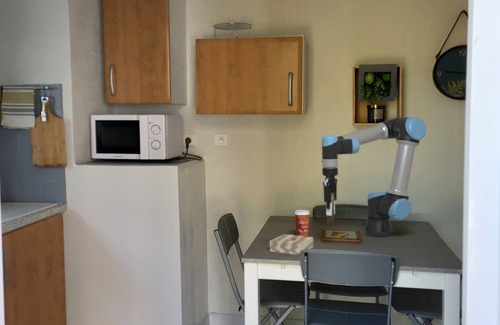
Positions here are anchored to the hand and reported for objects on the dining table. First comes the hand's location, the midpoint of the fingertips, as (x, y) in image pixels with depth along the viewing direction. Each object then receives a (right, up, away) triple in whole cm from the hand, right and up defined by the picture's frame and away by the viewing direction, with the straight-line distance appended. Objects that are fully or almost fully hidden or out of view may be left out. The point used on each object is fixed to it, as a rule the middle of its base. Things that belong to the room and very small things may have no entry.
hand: (330, 214), depth 246 cm
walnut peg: (0, -4, 0) cm, 4 cm away
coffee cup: (-12, -15, +21) cm, 28 cm away
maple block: (-19, -17, 0) cm, 26 cm away
